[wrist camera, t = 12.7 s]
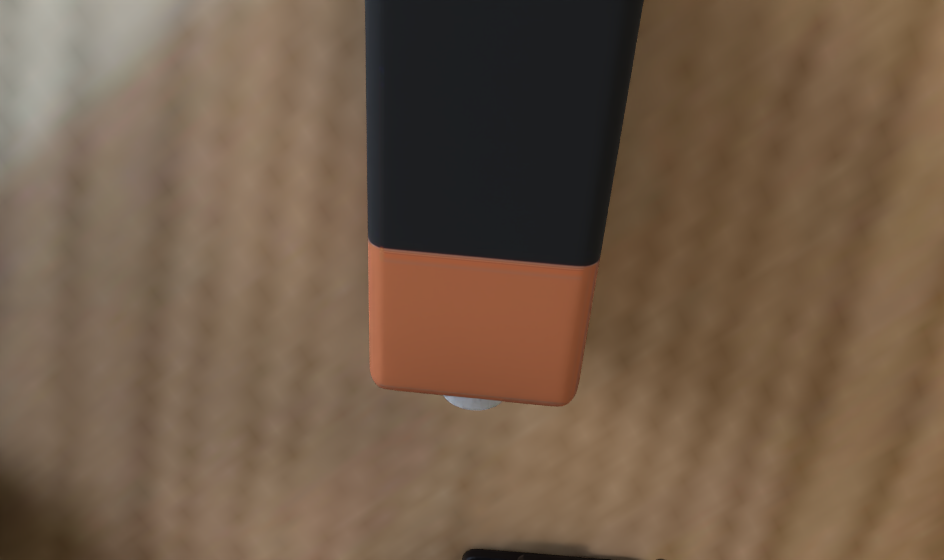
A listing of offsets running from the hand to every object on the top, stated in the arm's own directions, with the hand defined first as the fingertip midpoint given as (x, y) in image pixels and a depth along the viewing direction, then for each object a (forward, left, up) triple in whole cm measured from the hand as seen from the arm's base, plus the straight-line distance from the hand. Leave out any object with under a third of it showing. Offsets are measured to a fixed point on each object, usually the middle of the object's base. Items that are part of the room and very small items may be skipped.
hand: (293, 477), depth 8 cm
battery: (+8, -2, -7) cm, 11 cm away
